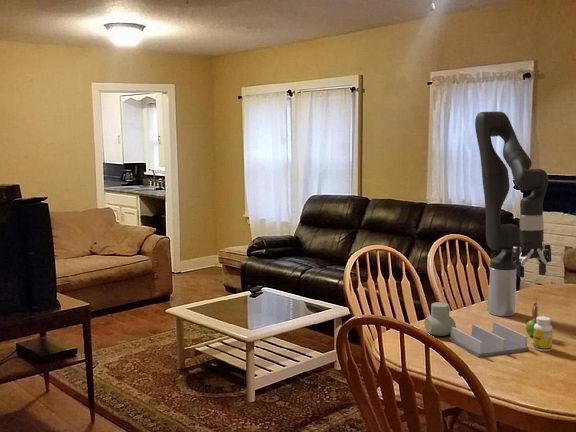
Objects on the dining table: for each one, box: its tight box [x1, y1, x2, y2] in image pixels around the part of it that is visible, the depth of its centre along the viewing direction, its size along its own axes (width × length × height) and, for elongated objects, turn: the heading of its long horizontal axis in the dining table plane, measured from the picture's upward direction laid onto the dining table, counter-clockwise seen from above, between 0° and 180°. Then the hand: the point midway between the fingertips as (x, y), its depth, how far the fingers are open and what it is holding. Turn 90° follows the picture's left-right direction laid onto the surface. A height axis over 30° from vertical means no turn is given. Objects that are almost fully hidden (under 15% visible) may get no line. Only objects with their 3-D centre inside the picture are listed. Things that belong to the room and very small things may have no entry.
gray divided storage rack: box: [448, 321, 530, 358], centre depth 190 cm, size 16×18×4 cm
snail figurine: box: [525, 297, 539, 337], centre depth 199 cm, size 5×6×12 cm
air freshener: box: [423, 301, 457, 337], centre depth 202 cm, size 11×8×10 cm
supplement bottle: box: [532, 315, 553, 352], centre depth 187 cm, size 5×5×10 cm
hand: (531, 276), depth 205 cm, fingers open, 8 cm apart
